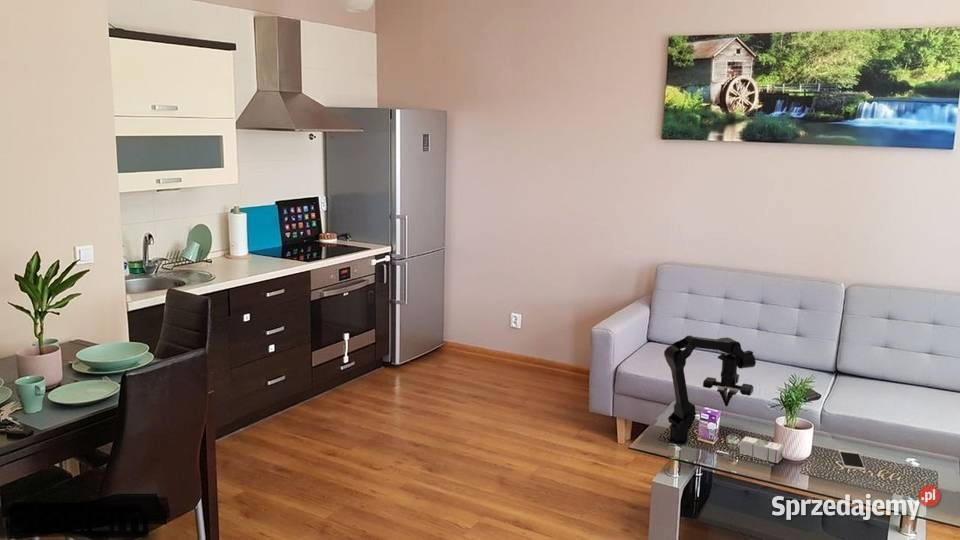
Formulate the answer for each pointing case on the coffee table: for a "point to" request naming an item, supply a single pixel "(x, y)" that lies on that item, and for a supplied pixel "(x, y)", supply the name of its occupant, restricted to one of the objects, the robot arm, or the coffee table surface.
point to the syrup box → (761, 449)
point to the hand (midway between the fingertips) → (726, 406)
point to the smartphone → (851, 460)
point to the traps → (727, 457)
